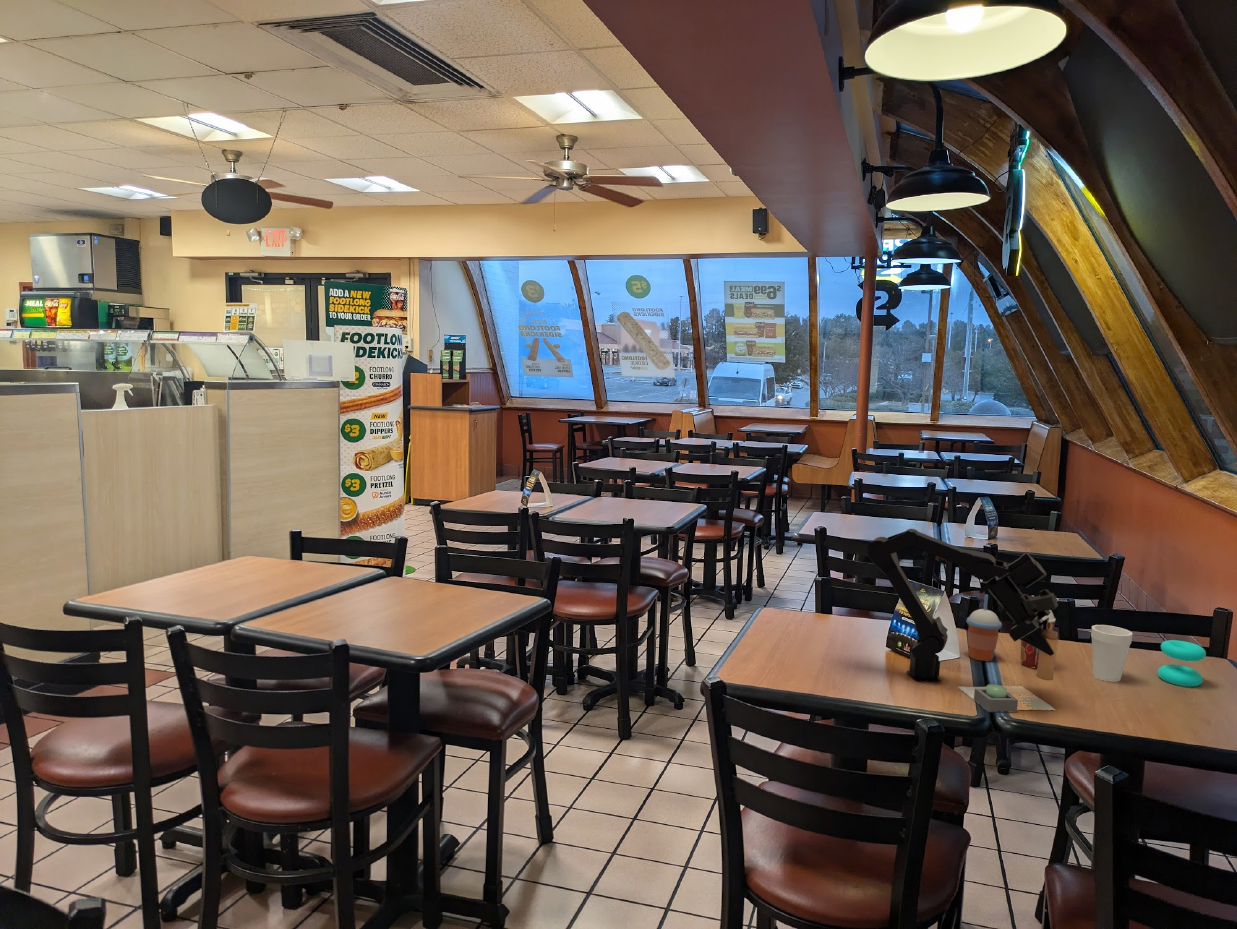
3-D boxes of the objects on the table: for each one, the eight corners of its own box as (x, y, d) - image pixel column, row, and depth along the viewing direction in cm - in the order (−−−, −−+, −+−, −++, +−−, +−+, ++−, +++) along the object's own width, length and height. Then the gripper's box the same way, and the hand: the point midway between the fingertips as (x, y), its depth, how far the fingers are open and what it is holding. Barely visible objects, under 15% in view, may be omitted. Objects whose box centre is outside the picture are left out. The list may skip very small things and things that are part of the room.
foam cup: (1082, 677, 227) (1087, 629, 225) (1091, 668, 233) (1096, 622, 232) (1122, 687, 220) (1127, 638, 219) (1131, 678, 227) (1136, 631, 226)
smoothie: (1054, 672, 230) (1061, 599, 227) (1021, 668, 231) (1028, 596, 229) (1045, 661, 238) (1052, 591, 235) (1013, 658, 239) (1020, 589, 237)
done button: (991, 703, 201) (992, 691, 201) (982, 696, 206) (983, 684, 205) (1009, 703, 202) (1010, 691, 201) (999, 696, 206) (1000, 684, 206)
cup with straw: (995, 665, 233) (1001, 601, 231) (960, 658, 238) (966, 595, 236) (1000, 656, 241) (1006, 594, 239) (966, 649, 246) (972, 588, 244)
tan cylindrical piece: (1041, 680, 205) (1047, 633, 203) (1033, 674, 208) (1039, 628, 207) (1056, 680, 205) (1062, 634, 203) (1047, 675, 208) (1053, 629, 207)
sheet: (988, 712, 200) (989, 699, 200) (957, 687, 216) (958, 675, 215) (1057, 712, 202) (1058, 700, 201) (1021, 687, 217) (1022, 676, 217)
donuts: (1165, 636, 232) (1209, 645, 226) (1161, 671, 233) (1205, 681, 227) (1157, 644, 225) (1203, 653, 218) (1153, 680, 226) (1198, 691, 219)
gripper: (1030, 587, 198) (1077, 644, 193) (1045, 573, 213) (1089, 626, 208) (990, 612, 204) (1035, 669, 199) (1008, 597, 219) (1050, 649, 214)
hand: (1054, 652), depth 205 cm, fingers closed on tan cylindrical piece, 4 cm apart
